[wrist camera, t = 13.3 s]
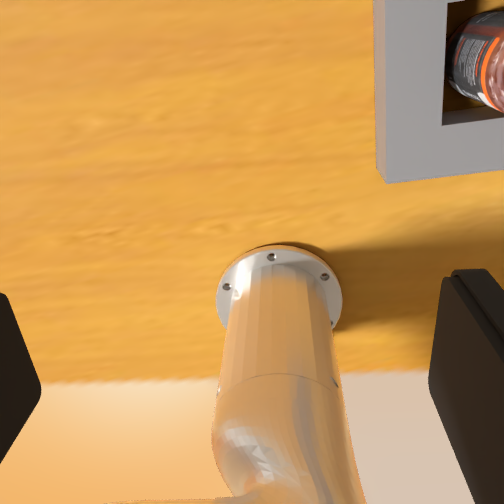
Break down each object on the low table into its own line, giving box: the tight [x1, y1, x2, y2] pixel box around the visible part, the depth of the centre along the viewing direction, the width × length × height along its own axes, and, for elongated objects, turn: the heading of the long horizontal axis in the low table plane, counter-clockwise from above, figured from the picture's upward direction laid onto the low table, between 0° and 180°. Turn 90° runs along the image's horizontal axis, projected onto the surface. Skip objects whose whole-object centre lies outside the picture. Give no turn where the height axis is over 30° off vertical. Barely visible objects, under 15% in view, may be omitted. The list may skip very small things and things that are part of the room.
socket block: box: [373, 0, 504, 184], centre depth 33 cm, size 16×16×4 cm
